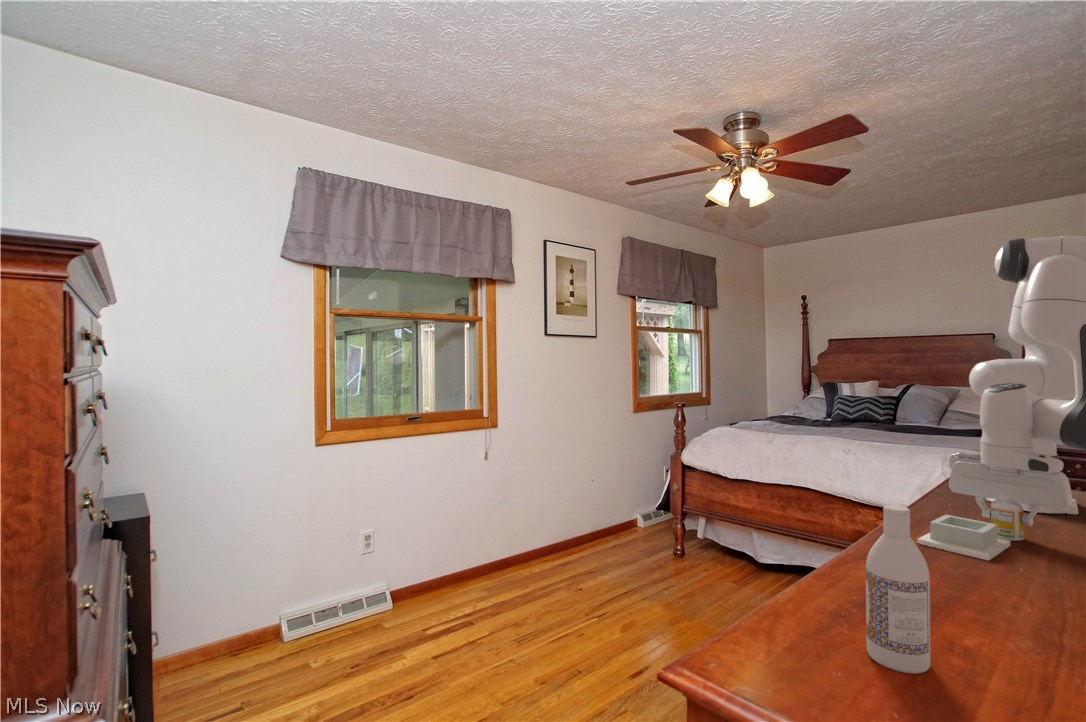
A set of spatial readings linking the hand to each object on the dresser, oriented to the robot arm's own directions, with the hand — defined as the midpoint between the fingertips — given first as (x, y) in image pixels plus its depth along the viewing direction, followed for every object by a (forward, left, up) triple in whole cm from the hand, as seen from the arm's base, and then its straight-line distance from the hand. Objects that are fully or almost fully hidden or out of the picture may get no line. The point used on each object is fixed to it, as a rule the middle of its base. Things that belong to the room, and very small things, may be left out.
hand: (1006, 520), depth 116 cm
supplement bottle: (0, 0, -4) cm, 4 cm away
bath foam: (+72, +6, -4) cm, 72 cm away
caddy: (+13, -4, -4) cm, 14 cm away
